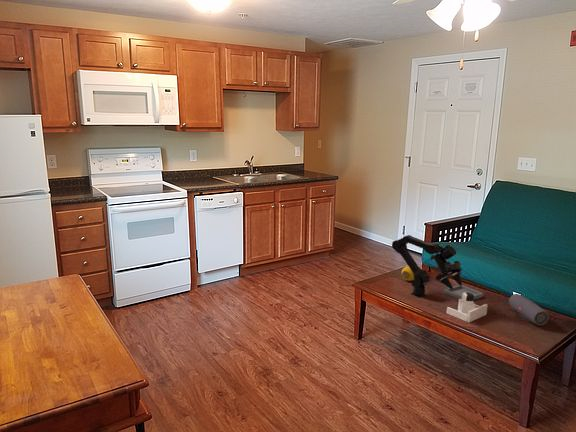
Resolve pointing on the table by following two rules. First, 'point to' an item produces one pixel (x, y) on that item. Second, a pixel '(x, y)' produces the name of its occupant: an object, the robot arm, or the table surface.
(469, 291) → the tray
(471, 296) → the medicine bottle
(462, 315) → the bay
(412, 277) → the lantern
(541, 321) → the bluetooth speaker
